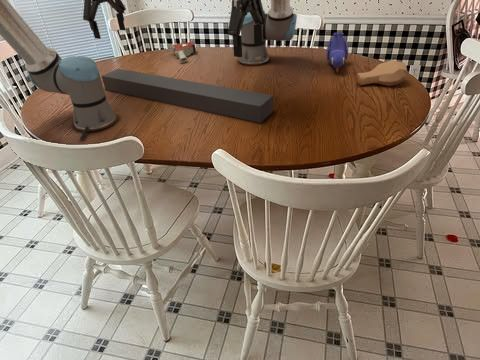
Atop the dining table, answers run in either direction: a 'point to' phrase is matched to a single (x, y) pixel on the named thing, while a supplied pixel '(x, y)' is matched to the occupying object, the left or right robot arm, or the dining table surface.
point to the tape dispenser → (183, 50)
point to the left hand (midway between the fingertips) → (110, 34)
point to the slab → (191, 94)
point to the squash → (384, 74)
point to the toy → (337, 50)
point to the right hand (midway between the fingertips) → (248, 50)
